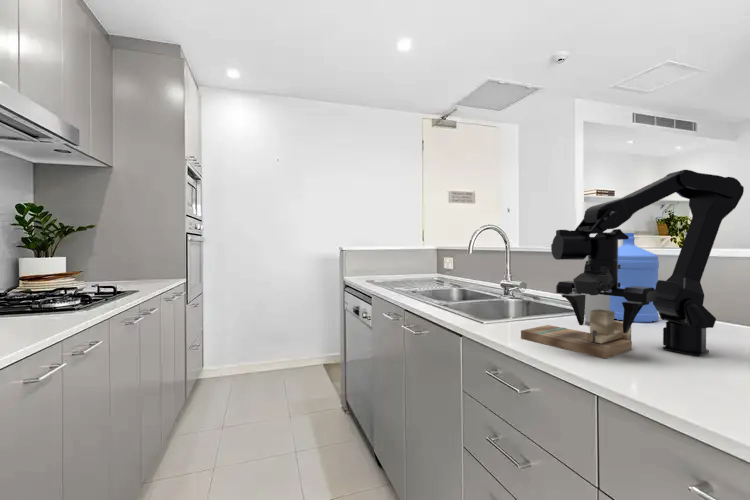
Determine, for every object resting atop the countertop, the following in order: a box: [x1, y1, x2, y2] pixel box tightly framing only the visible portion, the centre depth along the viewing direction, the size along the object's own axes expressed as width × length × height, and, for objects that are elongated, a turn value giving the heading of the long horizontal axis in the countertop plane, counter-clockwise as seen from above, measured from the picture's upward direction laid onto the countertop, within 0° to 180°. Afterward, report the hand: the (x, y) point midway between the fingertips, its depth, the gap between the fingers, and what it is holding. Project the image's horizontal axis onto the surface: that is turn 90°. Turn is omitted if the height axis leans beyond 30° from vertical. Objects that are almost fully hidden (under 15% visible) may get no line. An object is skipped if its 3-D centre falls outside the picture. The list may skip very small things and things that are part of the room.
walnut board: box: [520, 324, 633, 360], centre depth 86 cm, size 20×12×2 cm, turn 33°
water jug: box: [610, 232, 660, 323], centre depth 117 cm, size 16×16×28 cm
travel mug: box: [584, 260, 610, 327], centre depth 106 cm, size 6×7×20 cm
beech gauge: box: [587, 309, 632, 344], centre depth 82 cm, size 5×12×8 cm, turn 123°
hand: (602, 328), depth 81 cm, fingers open, 9 cm apart
